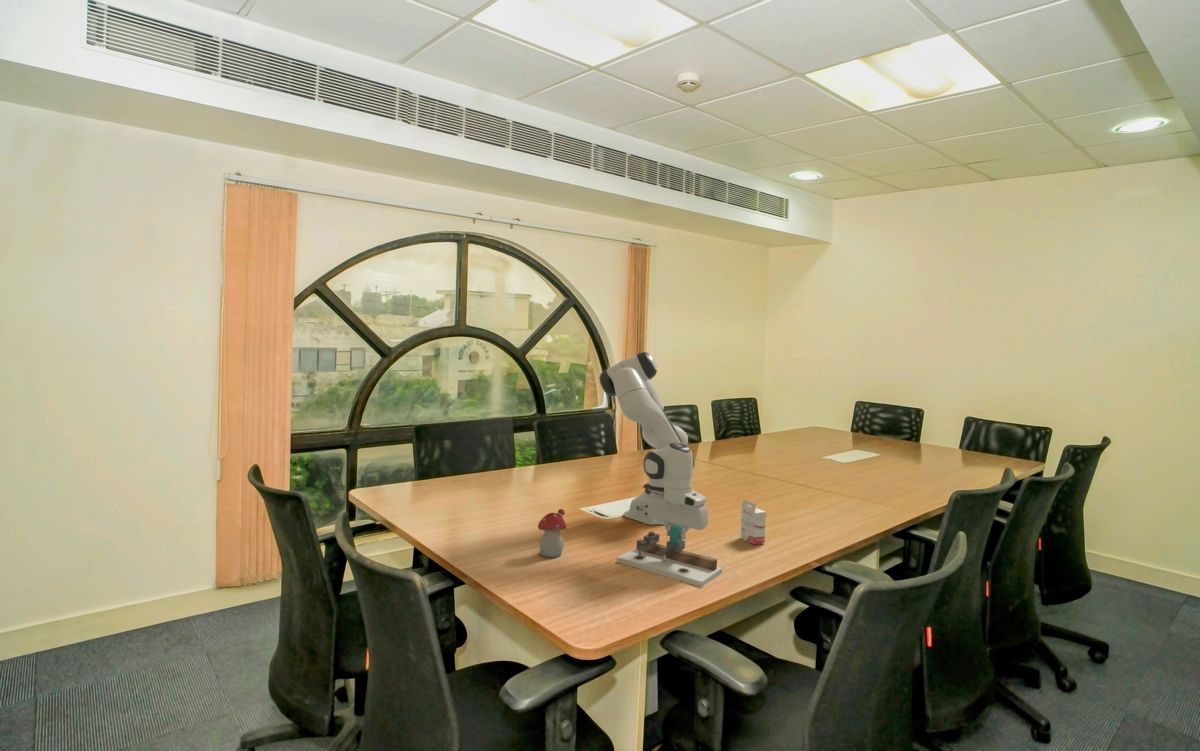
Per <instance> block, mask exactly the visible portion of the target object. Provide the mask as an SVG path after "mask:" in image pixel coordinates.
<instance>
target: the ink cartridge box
mask: <svg viewBox="0 0 1200 751" xmlns="http://www.w3.org/2000/svg"><path fill="white" fill-rule="evenodd" d="M741 505H742V506H741V516H740V517H741V520H740V522H741V523H740V538H741V539H742V538H743V539H742V540H744V539H745V540H747V541H749V542H751V543H753V544H758V545H763V544H762V543H764V544H765V540H766V539H765V538H766V517H767V511H765V510H762V509H759V508H758V507H757V504H756V503H753V502H752V501H749V500H748V499H745V498H743V499H742V504H741ZM745 540H744V541H745ZM747 541H746V542H747ZM749 542H748V543H749ZM751 543H750V544H751ZM753 544H752V545H753Z"/></svg>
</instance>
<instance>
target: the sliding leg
mask: <svg viewBox="0 0 1200 751" xmlns="http://www.w3.org/2000/svg"><path fill="white" fill-rule="evenodd" d="M683 530H684V529H682V526H680V525H676V524H671V525H670V536H669V540H668V541H666V545H665V546H666V549H665V550H663V551H662V555H663V562H666V555H667V554H669V553H671V552H673V551H674V552H679V551H681V550H683V551H684V549H685V548H686V540H682V539H679V533H681V532H683Z"/></svg>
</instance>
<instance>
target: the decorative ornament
mask: <svg viewBox="0 0 1200 751" xmlns="http://www.w3.org/2000/svg"><path fill="white" fill-rule="evenodd" d="M565 511H566V510H564V509H563V508H560V509H558V510H557V512H548V513H547V514H545V515H544V516H543V517H542V518H541V520H539V522H538V524H537V528H538V529H539V530H540V531H544V534H543V535H542V536H541V538H540V541H539V550H540V551H539V555H540V557H543V558H547V559H548V558H549V559H550V558H558V557H560V556H561V555H562V552H563V549H564V547H565V544H564V538H563V537H562V535H561V531H562V530H566V529H567V524H566V521H565V519H564V518H563V516H564V515H565V514H566V512H565Z"/></svg>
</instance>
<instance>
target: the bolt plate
mask: <svg viewBox="0 0 1200 751" xmlns="http://www.w3.org/2000/svg"><path fill="white" fill-rule="evenodd" d="M636 548H637V547H635V548H632V549H631V550H629V551H627V552H625V553H623V554H620V555H618V556H617V557H616V563H620V564H624V565H626V566H631V567H634V568H637V569H640V570H643V571H647V572H651V573H654V574H658V575H660V576H663V577H667V578H671V579H674V580H677V581H681V582H684V583H688V584H691V585H695V586H697V587H701V588H702V587H704V586H706V585H707V584H708V583H710V582H711V581H713V580H714V579H716V576H717V577H718V576H719V575H721V574H722V573H723V567H720V566H717V569H716V570H714V571H713V570H709V569H705V568H702V567H698V566H694V565H691V564H687V563H683V562H680V561H676V560H673V559H669V558H666V562H663V557H662V556H658V555H654V554H651V553H647V552H644V551H641V555H638V554H639V550H636Z"/></svg>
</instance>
